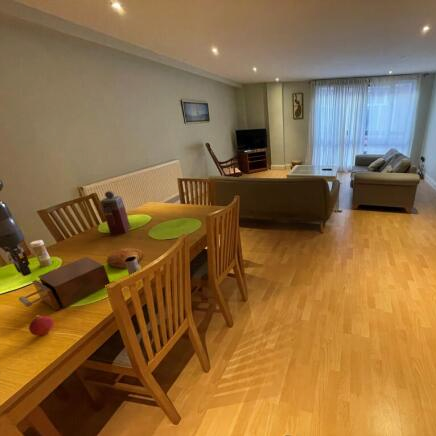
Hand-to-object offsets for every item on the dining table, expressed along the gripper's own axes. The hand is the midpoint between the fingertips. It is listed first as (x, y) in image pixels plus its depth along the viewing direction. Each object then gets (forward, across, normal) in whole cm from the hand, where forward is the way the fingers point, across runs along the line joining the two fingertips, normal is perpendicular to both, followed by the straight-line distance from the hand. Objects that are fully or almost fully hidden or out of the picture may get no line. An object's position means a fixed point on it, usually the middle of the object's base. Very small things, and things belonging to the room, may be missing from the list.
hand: (25, 272), depth 88 cm
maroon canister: (+17, -47, +54) cm, 74 cm away
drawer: (+16, 0, +7) cm, 18 cm away
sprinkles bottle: (+17, -40, +14) cm, 46 cm away
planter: (+17, +12, +29) cm, 36 cm away
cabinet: (+17, 0, +12) cm, 21 cm away
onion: (+17, +16, -5) cm, 24 cm away
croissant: (+17, -6, +35) cm, 40 cm away
